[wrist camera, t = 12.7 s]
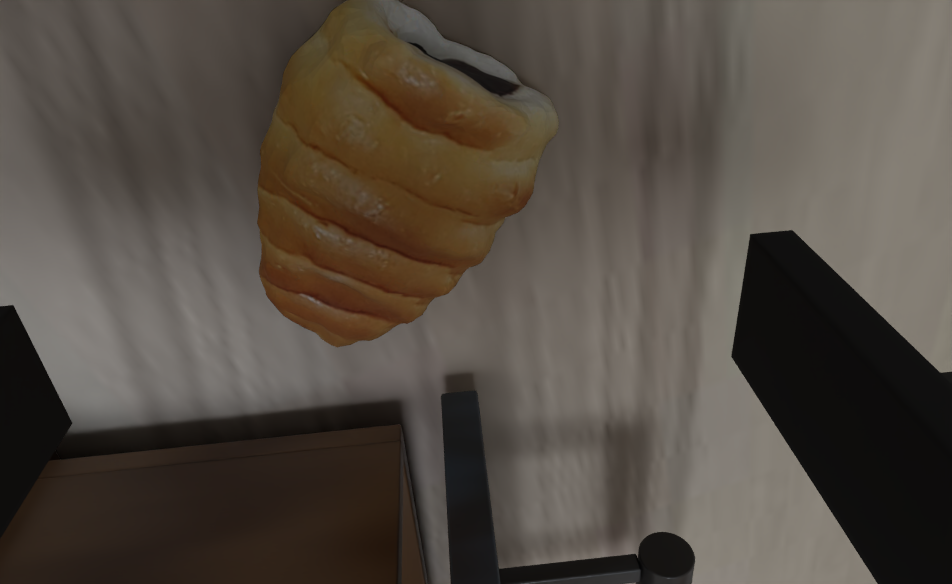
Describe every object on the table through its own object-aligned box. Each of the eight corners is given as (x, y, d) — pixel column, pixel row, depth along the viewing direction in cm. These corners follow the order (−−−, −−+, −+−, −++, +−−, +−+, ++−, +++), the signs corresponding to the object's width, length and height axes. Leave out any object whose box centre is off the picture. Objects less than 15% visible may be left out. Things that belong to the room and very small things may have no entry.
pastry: (416, 342, 23) (416, 421, 20) (212, 263, 21) (174, 337, 18) (568, 86, 19) (599, 132, 15) (332, -43, 17) (311, -21, 13)
